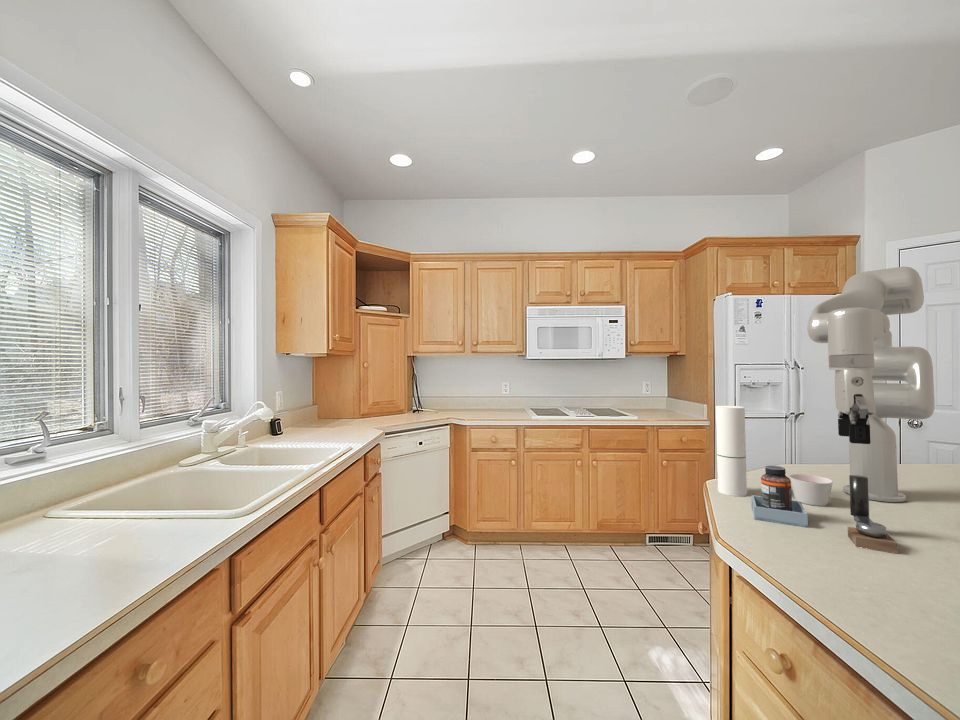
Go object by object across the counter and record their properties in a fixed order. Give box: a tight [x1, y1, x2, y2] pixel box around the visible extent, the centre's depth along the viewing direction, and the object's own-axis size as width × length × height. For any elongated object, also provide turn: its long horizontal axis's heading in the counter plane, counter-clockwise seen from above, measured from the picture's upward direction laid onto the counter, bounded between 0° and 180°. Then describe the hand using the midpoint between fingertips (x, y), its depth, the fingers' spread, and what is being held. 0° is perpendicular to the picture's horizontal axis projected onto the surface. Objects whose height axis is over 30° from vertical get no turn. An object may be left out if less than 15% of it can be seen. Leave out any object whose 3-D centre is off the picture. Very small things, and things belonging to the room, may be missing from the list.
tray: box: [750, 494, 809, 528], centre depth 97 cm, size 10×10×3 cm
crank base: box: [847, 526, 899, 555], centre depth 81 cm, size 6×6×2 cm
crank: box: [848, 474, 888, 537], centre depth 84 cm, size 11×4×10 cm, turn 149°
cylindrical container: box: [715, 405, 748, 497], centre depth 115 cm, size 7×7×25 cm
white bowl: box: [788, 473, 834, 507], centre depth 106 cm, size 9×9×6 cm
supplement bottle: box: [760, 465, 793, 511], centre depth 97 cm, size 6×6×11 cm
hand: (853, 439), depth 88 cm, fingers open, 9 cm apart
